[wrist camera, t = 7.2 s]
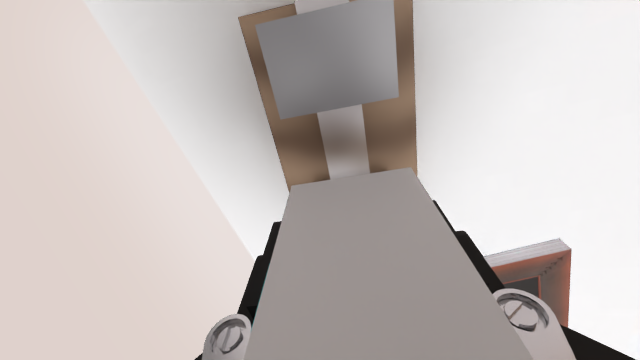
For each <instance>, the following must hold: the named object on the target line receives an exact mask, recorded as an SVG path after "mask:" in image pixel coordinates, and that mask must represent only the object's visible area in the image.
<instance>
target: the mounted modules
mask: <svg viewBox="0 0 640 360" xmlns="http://www.w3.org/2000/svg"><path fill="white" fill-rule="evenodd" d="M255 27H256V31H257V35H258V38H259V42H260V46H261V49H262V53H263V57H264V61H265V64H266V68H267V72H268V75H269V79H270V83H271V86H272V90H273V94H274V97H275V101H276V105H277V109H278V112H279V116H280V120H281V119H286V118H292V117H297V116H302V115H307V114H313V113H318V112H323V111H329V110H334V109H339V108H344V107H350V106H355V105H360V104H365V103H371V102H376V101H381V100H387V99H392V98H397V97H399V90H398V72H397V54H396V36H395V18H394V0H356V1H352V2H348V3H344V4H340V5H336V6H331V7H327V8H323V9H319V10H315V11H311V12H306V13H302V14H298V15H294V16H290V17H286V18H282V19H277V20H273V21H269V22H265V23H261V24H257V25H255Z"/></svg>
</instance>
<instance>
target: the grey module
mask: <svg viewBox="0 0 640 360" xmlns="http://www.w3.org/2000/svg"><path fill="white" fill-rule="evenodd" d="M243 360H534V359H533V358H532V356H531V354H530V353H529V351H528V350H527V348H526V347H525V345H524V344H523V342H522V340H521V339H520V337H519V336H518V334H517V333H516V331H515V329H514V328H513V326H512V325H511V323H510V322H509V320H508V318H507V317H506V315H505V314H504V312H503V311H502V309H501V307H500V306H499V304H498V303H497V301H496V300H495V298H494V296H493V295H492V293H491V292H490V290H489V289H488V287H487V286H486V284H485V282H484V281H483V279H482V278H481V276H480V275H479V273H478V271H477V270H476V268H475V267H474V265H473V264H472V262H471V260H470V259H469V257H468V256H467V254H466V253H465V251H464V249H463V248H462V246H461V245H460V243H459V242H458V240H457V239H456V237H455V235H454V234H453V232H452V231H451V229H450V228H449V226H448V224H447V223H446V221H445V220H444V218H443V217H442V215H441V213H440V212H439V210H438V209H437V207H436V206H435V204H434V202H433V201H432V199H431V198H430V196H429V195H428V193H427V191H426V190H425V188H424V187H423V185H422V184H421V182H420V181H419V179H418V177H417V176H416V174H415V173H414V171H413V170H412V168H411V167H408V168H402V169H396V170H389V171H383V172H376V173H370V174H363V175H357V176H351V177H344V178H338V179H331V180H325V181H319V182H312V183H306V184H299V185H293V186H291V190H290V193H289V197H288V200H287V204H286V208H285V211H284V215H283V218H282V222H281V226H280V229H279V233H278V236H277V240H276V244H275V247H274V251H273V255H272V258H271V262H270V264H269V267H268V271H267V274H266V278H265V282H264V285H263V289H262V292H261V296H260V300H259V303H258V307H257V310H256V314H255V317H254V321H253V325H252V328H251V334H250V338H249V341H248V345H247V348H246V352H245V356H244V359H243Z"/></svg>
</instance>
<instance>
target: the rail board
mask: <svg viewBox="0 0 640 360" xmlns="http://www.w3.org/2000/svg"><path fill="white" fill-rule="evenodd" d="M352 1H356V0H297V1H294V2H295V3H294V4H290V5H286V6H282V7H278V8H274V9H270V10H266V11H262V12H258V13H254V14H250V15H246V16H241V17H238V19H239V22H240V26H241V29H242V33H243V36H244V39H245V43H246V46H247V50H248V53H249V57H250V60H251V63H252V67H253V70H254V74H255V77H256V80H257V84H258V87H259V91H260V94H261V97H262V101H263V104H264V108H265V111H266V115H267V118H268V121H269V125H270V128H271V132H272V135H273V138H274V142H275V145H276V149H277V152H278V155H279V159H280V162H281V166H282V169H283V172H284V176H285V179H286V183H287V186H288V190H289V193H290V190H291V186H293V185H299V184H306V183H312V182H319V181H325V180H331V179H338V178H344V177H351V176H357V175H363V174H370V173H376V172H383V171H389V170H396V169H402V168H408V167H411V168H412V170H413V171H414V173H415V174H416V176H417V151H416V114H415V77H414V40H413V3H412V0H394V18H395V36H396V54H397V72H398V90H399V97H397V98H392V99H387V100H381V101H376V102H371V103H365V104H360V105H355V106H350V107H344V108H339V109H334V110H329V111H323V112H318V113H313V114H307V115H302V116H297V117H292V118H286V119H281V120H280V116H279V112H278V109H277V105H276V101H275V97H274V94H273V90H272V86H271V83H270V79H269V75H268V72H267V68H266V64H265V61H264V57H263V53H262V49H261V46H260V42H259V38H258V35H257V31H256V27H255V25H257V24H261V23H265V22H269V21H273V20H277V19H282V18H286V17H290V16H294V15H298V14H302V13H306V12H311V11H315V10H319V9H323V8H327V7H331V6H336V5H340V4H344V3H348V2H352Z"/></svg>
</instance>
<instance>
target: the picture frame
mask: <svg viewBox="0 0 640 360" xmlns="http://www.w3.org/2000/svg"><path fill="white" fill-rule="evenodd" d="M484 258H485V260H486V261H487V263H488V264H489V265H490V267H491V268H492V270H493V271H494V272H495V274H496V275H497V277H498V278H499V280H500V281H501V282H502V284H503V285H504V287H505V288H506V289H517V290H522V291H525V292H527V293H530V294H532V295H534V296H536V297H537V298H539V299H541V300H542V301H543V302H544V303H545V304H547V305H548V306H549V307H550V308H551V310H552V311H553V313H554V314H555V316H556V318H557V320H558V322H559V324H561V325H563V326H565V327H567V328H568V312H569V290H570V268H571V248H570V247H568V246H567V245H566V244H565V243H564V242H563V241H561V240H560V239H555V240H551V241H547V242H543V243H539V244H534V245H530V246H526V247H522V248H518V249H514V250H510V251H505V252H501V253H497V254H493V255H489V256H485V257H484Z"/></svg>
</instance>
